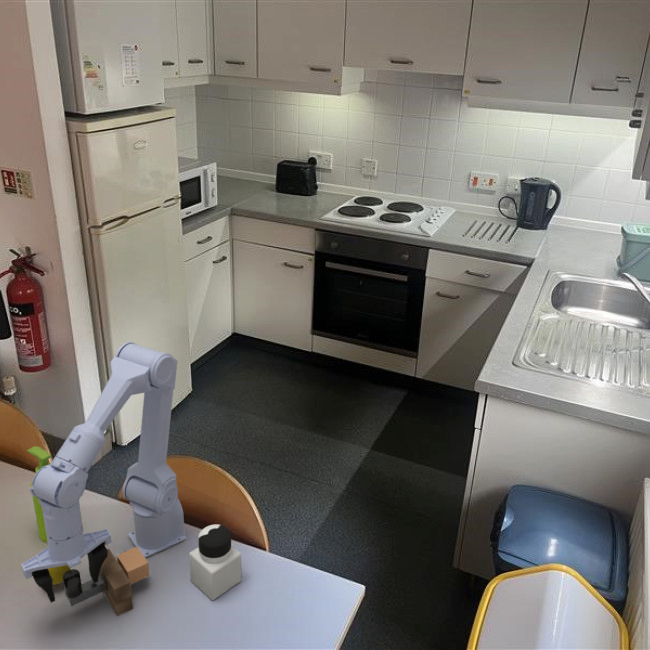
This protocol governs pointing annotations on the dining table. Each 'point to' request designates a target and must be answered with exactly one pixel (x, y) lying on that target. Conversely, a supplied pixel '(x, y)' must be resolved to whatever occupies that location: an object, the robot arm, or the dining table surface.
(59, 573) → the lemon
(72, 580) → the shaft
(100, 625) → the dining table surface
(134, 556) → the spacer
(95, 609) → the dining table surface
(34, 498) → the soap dispenser
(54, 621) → the dining table surface
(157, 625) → the dining table surface
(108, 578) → the bracket
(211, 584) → the medicine bottle
